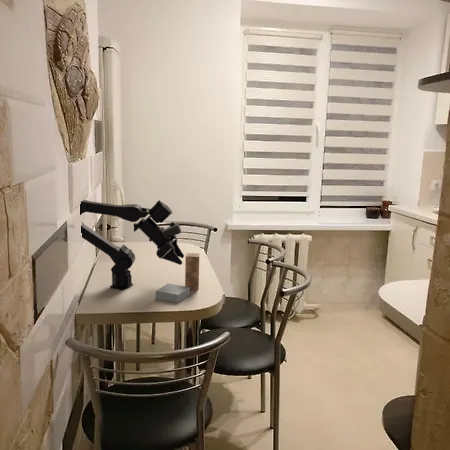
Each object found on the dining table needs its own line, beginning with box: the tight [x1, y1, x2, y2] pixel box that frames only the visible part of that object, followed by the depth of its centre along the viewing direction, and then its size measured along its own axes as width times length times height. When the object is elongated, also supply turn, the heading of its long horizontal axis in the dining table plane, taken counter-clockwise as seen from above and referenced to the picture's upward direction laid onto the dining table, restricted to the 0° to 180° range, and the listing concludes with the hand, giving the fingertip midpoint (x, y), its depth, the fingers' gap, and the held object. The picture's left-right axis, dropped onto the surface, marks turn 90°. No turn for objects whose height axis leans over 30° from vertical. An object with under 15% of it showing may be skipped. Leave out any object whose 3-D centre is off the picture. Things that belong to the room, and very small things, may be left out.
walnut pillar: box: [184, 252, 200, 291], centre depth 170 cm, size 5×5×13 cm
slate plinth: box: [155, 283, 191, 304], centre depth 161 cm, size 9×9×3 cm
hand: (182, 260), depth 169 cm, fingers open, 9 cm apart
